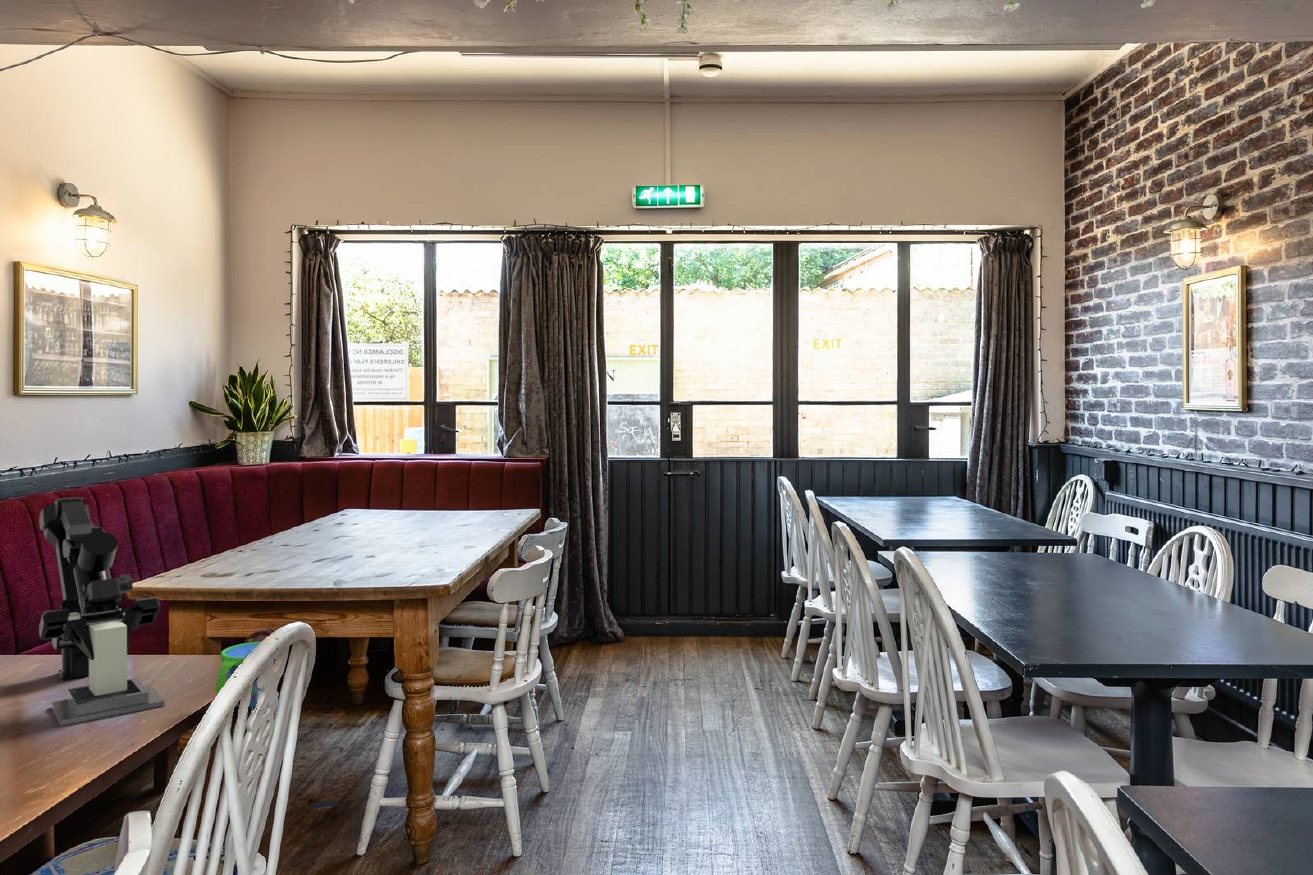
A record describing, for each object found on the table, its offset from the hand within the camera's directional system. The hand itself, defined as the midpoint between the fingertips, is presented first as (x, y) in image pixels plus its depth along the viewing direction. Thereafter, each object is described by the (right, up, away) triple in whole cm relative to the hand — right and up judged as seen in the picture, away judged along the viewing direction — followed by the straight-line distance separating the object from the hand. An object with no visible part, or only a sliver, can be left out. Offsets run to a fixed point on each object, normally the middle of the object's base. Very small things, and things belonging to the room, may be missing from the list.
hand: (109, 656), depth 156 cm
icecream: (+14, -9, +31) cm, 35 cm away
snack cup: (+24, -10, +5) cm, 26 cm away
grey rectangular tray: (-1, -10, +1) cm, 10 cm away
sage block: (-1, -7, +1) cm, 7 cm away
